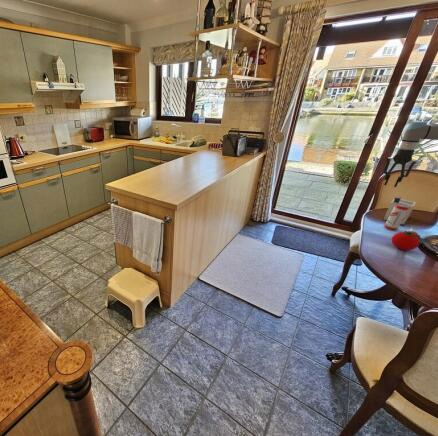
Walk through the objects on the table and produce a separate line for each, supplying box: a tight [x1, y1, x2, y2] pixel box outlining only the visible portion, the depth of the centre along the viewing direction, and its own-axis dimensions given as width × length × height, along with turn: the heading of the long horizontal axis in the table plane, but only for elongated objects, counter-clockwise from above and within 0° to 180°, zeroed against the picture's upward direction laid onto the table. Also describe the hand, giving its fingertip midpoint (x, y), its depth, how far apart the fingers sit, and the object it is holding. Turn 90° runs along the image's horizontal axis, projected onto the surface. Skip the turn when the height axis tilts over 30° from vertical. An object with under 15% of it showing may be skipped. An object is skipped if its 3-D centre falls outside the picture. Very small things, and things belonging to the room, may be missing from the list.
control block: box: [417, 234, 424, 247], centre depth 139 cm, size 10×8×4 cm
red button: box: [407, 230, 419, 236], centre depth 138 cm, size 4×4×2 cm
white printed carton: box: [382, 198, 417, 226], centre depth 161 cm, size 10×12×13 cm
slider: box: [393, 196, 402, 203], centre depth 157 cm, size 2×2×3 cm
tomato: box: [390, 229, 419, 251], centre depth 131 cm, size 10×10×10 cm
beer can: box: [384, 204, 408, 231], centre depth 149 cm, size 6×6×16 cm
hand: (390, 185), depth 158 cm, fingers open, 4 cm apart
